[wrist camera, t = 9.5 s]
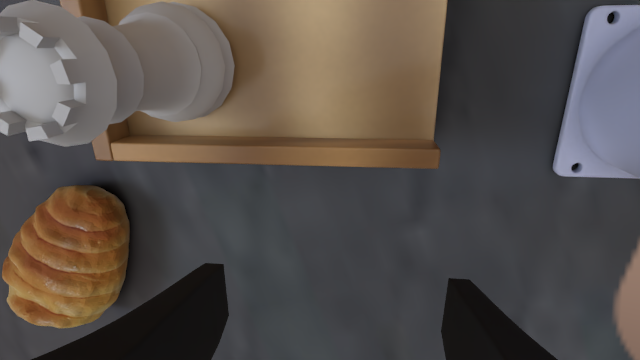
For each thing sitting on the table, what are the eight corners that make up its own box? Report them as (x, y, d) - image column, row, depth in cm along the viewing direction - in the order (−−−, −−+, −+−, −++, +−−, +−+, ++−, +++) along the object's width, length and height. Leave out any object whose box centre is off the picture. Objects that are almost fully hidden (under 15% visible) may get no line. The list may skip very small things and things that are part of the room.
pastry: (56, 156, 22) (-1, 178, 19) (159, 208, 23) (122, 238, 19) (28, 269, 26) (-26, 305, 22) (117, 311, 26) (79, 354, 23)
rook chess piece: (141, 115, 16) (-49, 177, 9) (125, 2, 15) (-125, -42, 7) (241, 119, 16) (131, 188, 8) (235, 3, 14) (94, -41, 7)
